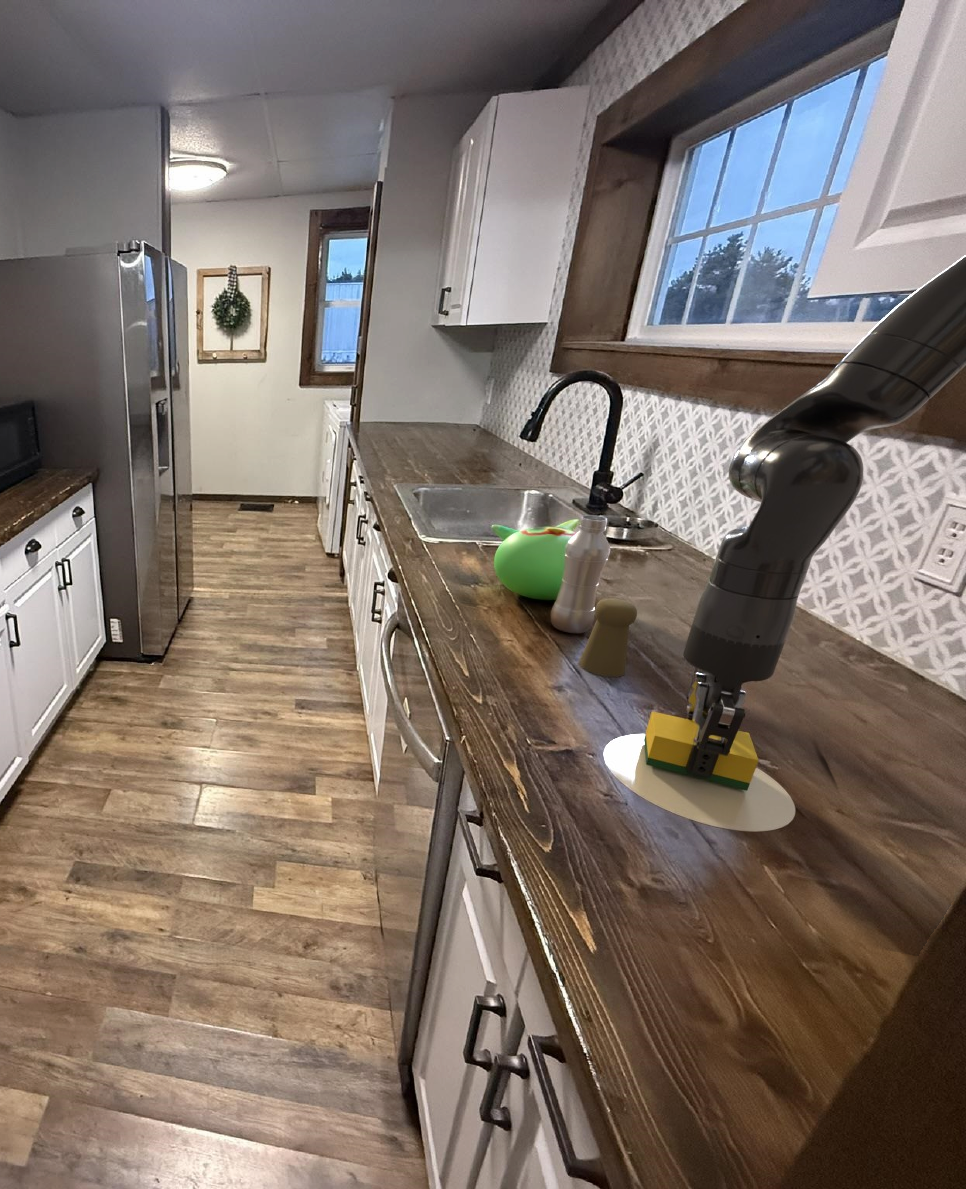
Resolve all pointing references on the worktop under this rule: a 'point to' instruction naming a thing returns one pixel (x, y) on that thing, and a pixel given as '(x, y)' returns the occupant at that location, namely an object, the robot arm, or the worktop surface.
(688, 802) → the plate
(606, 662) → the cork
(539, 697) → the worktop surface
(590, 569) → the plastic bottle
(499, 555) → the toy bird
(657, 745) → the sponge
